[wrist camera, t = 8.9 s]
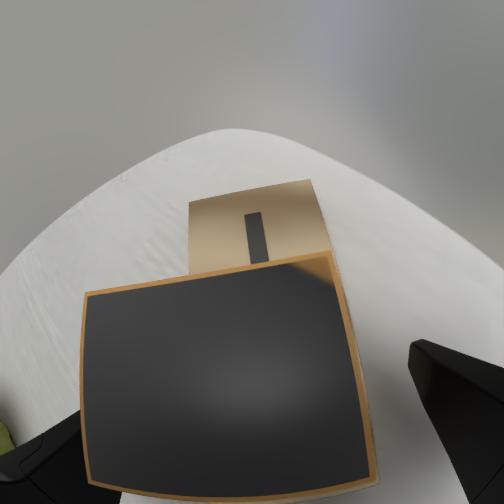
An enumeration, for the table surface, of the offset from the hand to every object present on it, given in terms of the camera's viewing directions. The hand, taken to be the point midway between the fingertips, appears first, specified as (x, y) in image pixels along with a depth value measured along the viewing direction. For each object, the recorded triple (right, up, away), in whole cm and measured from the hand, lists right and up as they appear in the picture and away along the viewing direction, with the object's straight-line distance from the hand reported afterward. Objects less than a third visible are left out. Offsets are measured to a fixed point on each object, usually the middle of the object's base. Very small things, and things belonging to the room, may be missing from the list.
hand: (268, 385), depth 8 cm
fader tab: (+1, -3, +4) cm, 5 cm away
